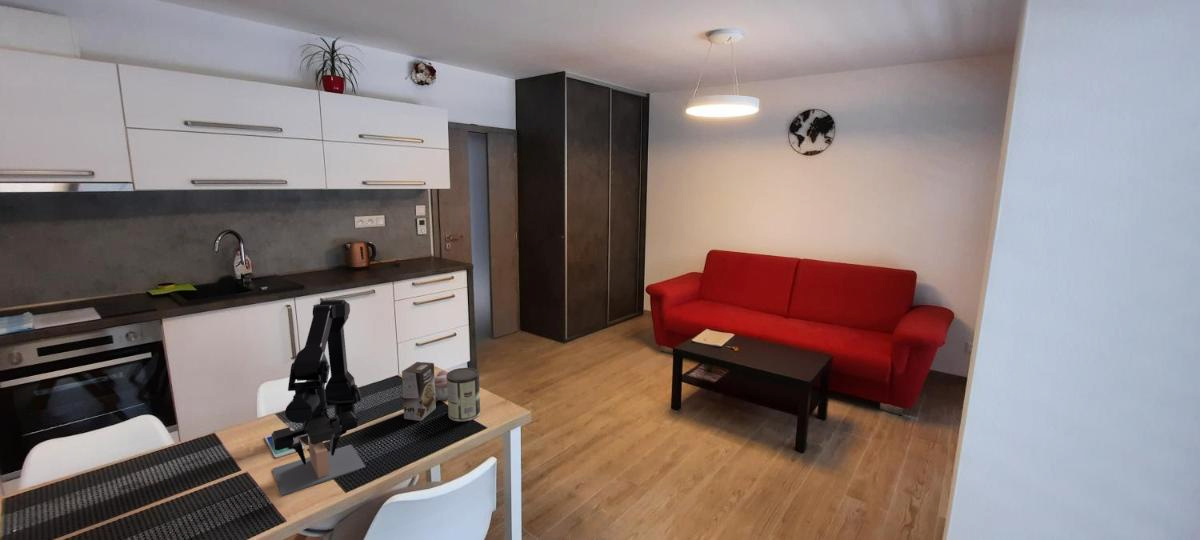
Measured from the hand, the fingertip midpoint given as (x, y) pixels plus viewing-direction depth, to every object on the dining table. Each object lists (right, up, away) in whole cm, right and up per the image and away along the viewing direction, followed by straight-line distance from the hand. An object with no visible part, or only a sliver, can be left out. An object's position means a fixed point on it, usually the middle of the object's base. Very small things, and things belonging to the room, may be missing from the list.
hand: (318, 459), depth 130 cm
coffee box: (+15, +3, +31) cm, 35 cm away
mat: (0, -3, +1) cm, 3 cm away
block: (0, -2, 0) cm, 2 cm away
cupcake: (+19, +5, +44) cm, 48 cm away
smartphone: (-17, -1, +12) cm, 21 cm away
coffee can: (+30, +2, +32) cm, 43 cm away
